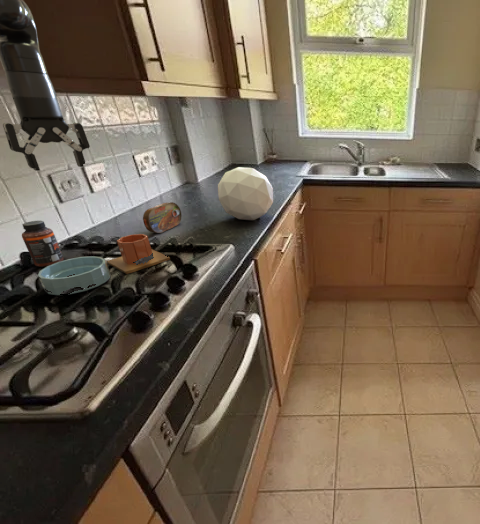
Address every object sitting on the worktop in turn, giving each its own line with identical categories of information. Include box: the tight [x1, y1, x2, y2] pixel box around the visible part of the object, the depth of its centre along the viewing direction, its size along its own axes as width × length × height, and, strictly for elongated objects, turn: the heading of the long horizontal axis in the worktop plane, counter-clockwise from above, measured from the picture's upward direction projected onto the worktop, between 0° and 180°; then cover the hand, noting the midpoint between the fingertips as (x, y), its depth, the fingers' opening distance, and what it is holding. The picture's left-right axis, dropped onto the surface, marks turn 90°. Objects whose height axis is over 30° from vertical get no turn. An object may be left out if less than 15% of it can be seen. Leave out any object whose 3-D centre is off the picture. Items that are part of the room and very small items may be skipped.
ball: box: [217, 166, 274, 221], centre depth 123 cm, size 19×20×20 cm
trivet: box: [106, 248, 171, 275], centre depth 90 cm, size 11×11×1 cm
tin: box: [142, 201, 182, 234], centre depth 113 cm, size 15×3×8 cm, turn 171°
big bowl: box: [37, 255, 111, 296], centre depth 78 cm, size 12×12×4 cm
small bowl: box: [116, 233, 152, 264], centre depth 89 cm, size 6×6×6 cm
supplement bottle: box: [21, 220, 65, 268], centre depth 86 cm, size 6×6×11 cm
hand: (59, 168), depth 82 cm, fingers open, 8 cm apart
